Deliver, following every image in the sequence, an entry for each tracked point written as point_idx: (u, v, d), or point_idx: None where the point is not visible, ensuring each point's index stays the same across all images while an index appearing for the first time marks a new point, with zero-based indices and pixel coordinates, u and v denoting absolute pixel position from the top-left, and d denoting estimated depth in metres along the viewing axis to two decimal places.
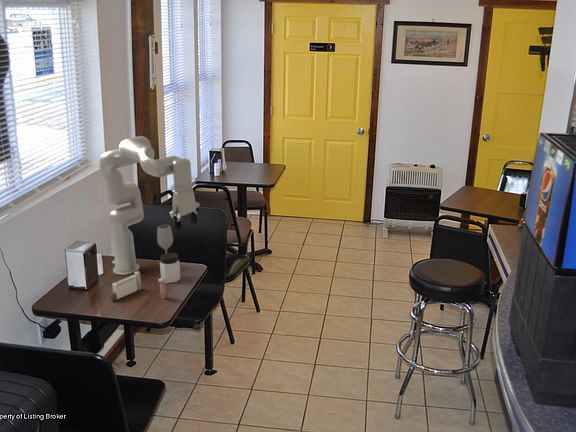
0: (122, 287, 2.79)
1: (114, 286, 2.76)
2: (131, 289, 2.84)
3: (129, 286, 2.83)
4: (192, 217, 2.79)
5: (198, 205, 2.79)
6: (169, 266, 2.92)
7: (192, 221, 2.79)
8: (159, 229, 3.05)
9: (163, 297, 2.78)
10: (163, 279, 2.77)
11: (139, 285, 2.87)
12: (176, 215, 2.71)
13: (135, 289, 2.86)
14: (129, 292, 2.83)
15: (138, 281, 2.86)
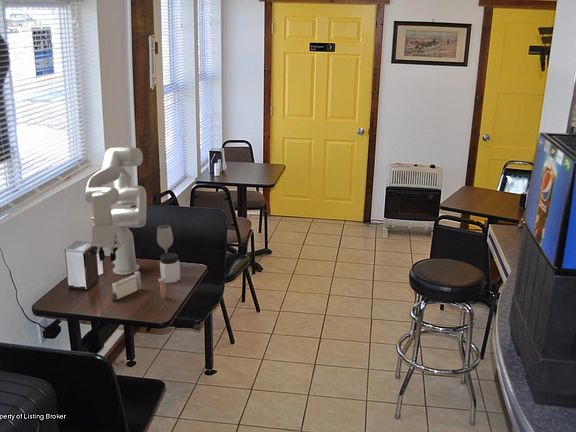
0: (122, 287, 2.79)
1: (114, 286, 2.76)
2: (131, 289, 2.84)
3: (129, 286, 2.83)
4: (102, 254, 2.77)
5: None
6: (169, 266, 2.92)
7: (102, 258, 2.77)
8: (159, 229, 3.05)
9: (163, 297, 2.78)
10: (163, 279, 2.77)
11: (139, 285, 2.87)
12: None
13: (135, 289, 2.86)
14: (129, 292, 2.83)
15: (138, 281, 2.86)
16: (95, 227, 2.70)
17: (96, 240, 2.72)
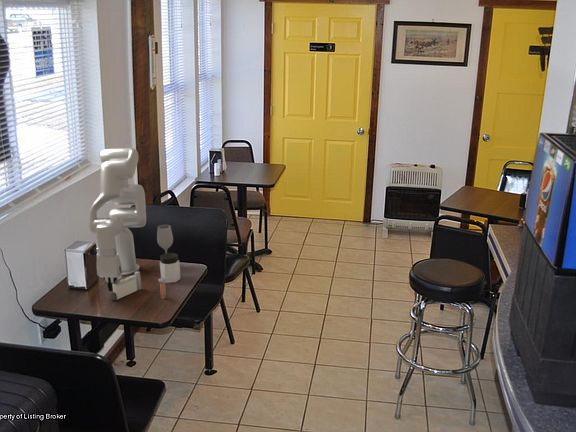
0: (122, 287, 2.79)
1: (114, 286, 2.76)
2: (131, 289, 2.84)
3: (129, 286, 2.83)
4: None
5: None
6: (169, 266, 2.92)
7: None
8: (159, 229, 3.05)
9: (163, 297, 2.78)
10: (163, 279, 2.77)
11: (139, 285, 2.87)
12: None
13: (135, 289, 2.86)
14: (129, 292, 2.83)
15: (138, 281, 2.86)
16: (100, 258, 2.75)
17: (101, 270, 2.76)
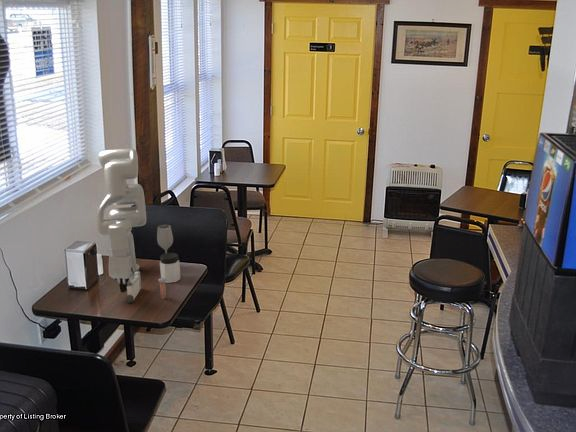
0: (134, 288, 2.78)
1: (130, 288, 2.74)
2: (137, 289, 2.83)
3: (136, 287, 2.82)
4: None
5: None
6: (169, 266, 2.92)
7: None
8: (159, 229, 3.05)
9: (163, 297, 2.78)
10: (163, 279, 2.77)
11: (140, 285, 2.88)
12: None
13: (139, 289, 2.86)
14: (137, 292, 2.83)
15: (140, 281, 2.87)
16: (112, 258, 2.73)
17: (112, 271, 2.74)
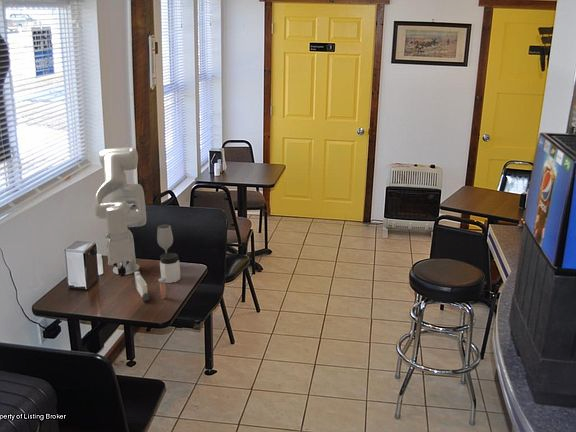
0: None
1: (145, 286, 2.76)
2: None
3: None
4: None
5: (110, 263, 2.70)
6: (169, 266, 2.92)
7: None
8: (159, 229, 3.05)
9: (163, 297, 2.78)
10: (163, 279, 2.77)
11: None
12: None
13: None
14: None
15: None
16: (113, 243, 2.65)
17: (115, 256, 2.66)
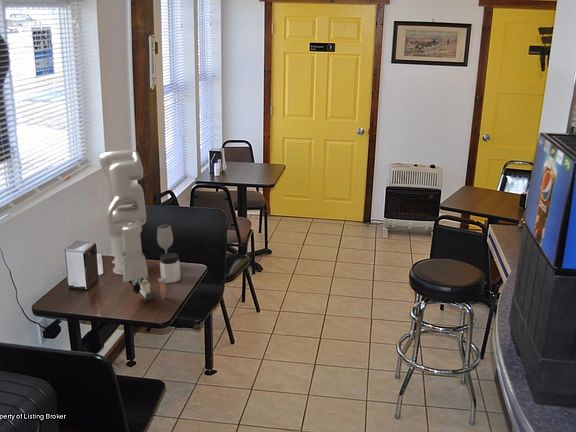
0: None
1: (148, 285, 2.76)
2: None
3: None
4: None
5: None
6: (169, 266, 2.92)
7: None
8: (159, 229, 3.05)
9: (163, 297, 2.78)
10: (163, 279, 2.77)
11: None
12: None
13: None
14: None
15: None
16: (129, 261, 2.70)
17: (130, 274, 2.72)
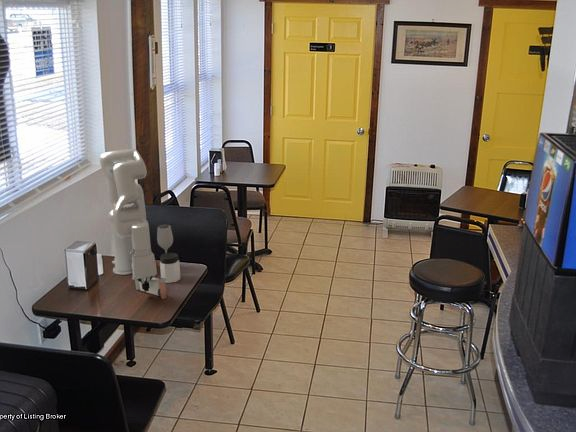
0: None
1: None
2: None
3: None
4: None
5: None
6: (169, 266, 2.92)
7: None
8: (159, 229, 3.05)
9: (163, 297, 2.78)
10: (163, 279, 2.77)
11: None
12: None
13: None
14: None
15: None
16: (138, 259, 2.72)
17: (139, 272, 2.74)
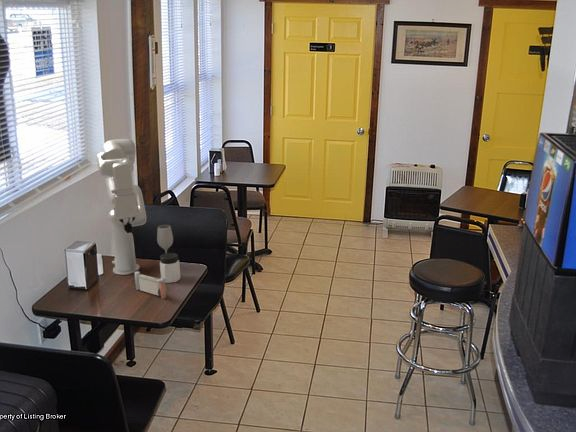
0: None
1: None
2: None
3: None
4: None
5: None
6: (169, 266, 2.92)
7: None
8: (159, 229, 3.05)
9: (163, 297, 2.78)
10: (163, 279, 2.77)
11: None
12: (130, 218, 2.74)
13: None
14: None
15: None
16: (120, 199, 2.68)
17: (121, 212, 2.69)
